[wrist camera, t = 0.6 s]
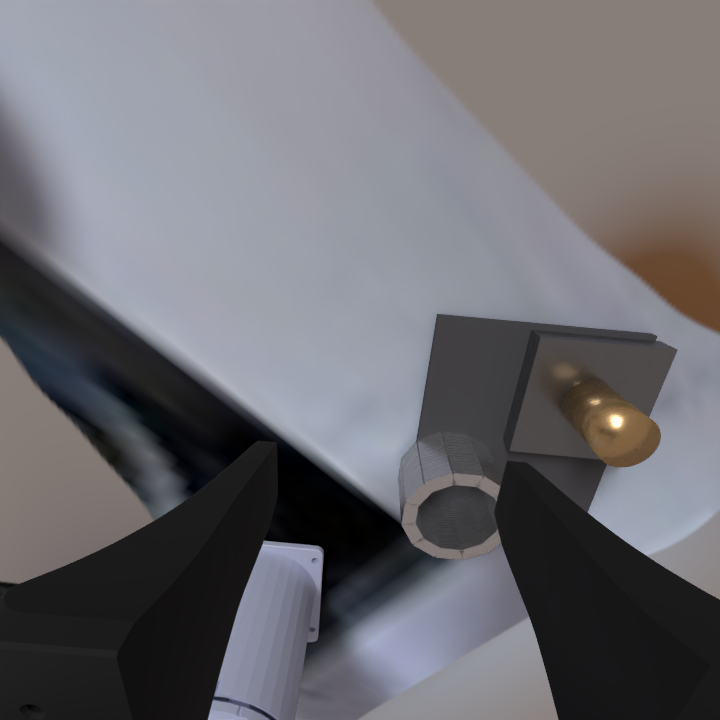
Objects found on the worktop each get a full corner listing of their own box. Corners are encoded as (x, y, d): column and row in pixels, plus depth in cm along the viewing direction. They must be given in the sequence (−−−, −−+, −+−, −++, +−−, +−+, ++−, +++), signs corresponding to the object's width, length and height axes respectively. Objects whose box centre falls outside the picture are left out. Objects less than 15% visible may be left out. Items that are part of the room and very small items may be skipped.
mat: (572, 538, 25) (575, 543, 25) (403, 522, 25) (403, 527, 25) (652, 333, 20) (657, 336, 19) (437, 314, 20) (438, 316, 20)
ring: (483, 513, 24) (500, 563, 21) (394, 505, 24) (396, 553, 21) (503, 437, 22) (526, 479, 19) (405, 428, 22) (410, 469, 19)
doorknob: (617, 448, 22) (674, 508, 18) (502, 438, 22) (532, 495, 18) (660, 341, 20) (739, 380, 15) (531, 329, 20) (574, 365, 15)
